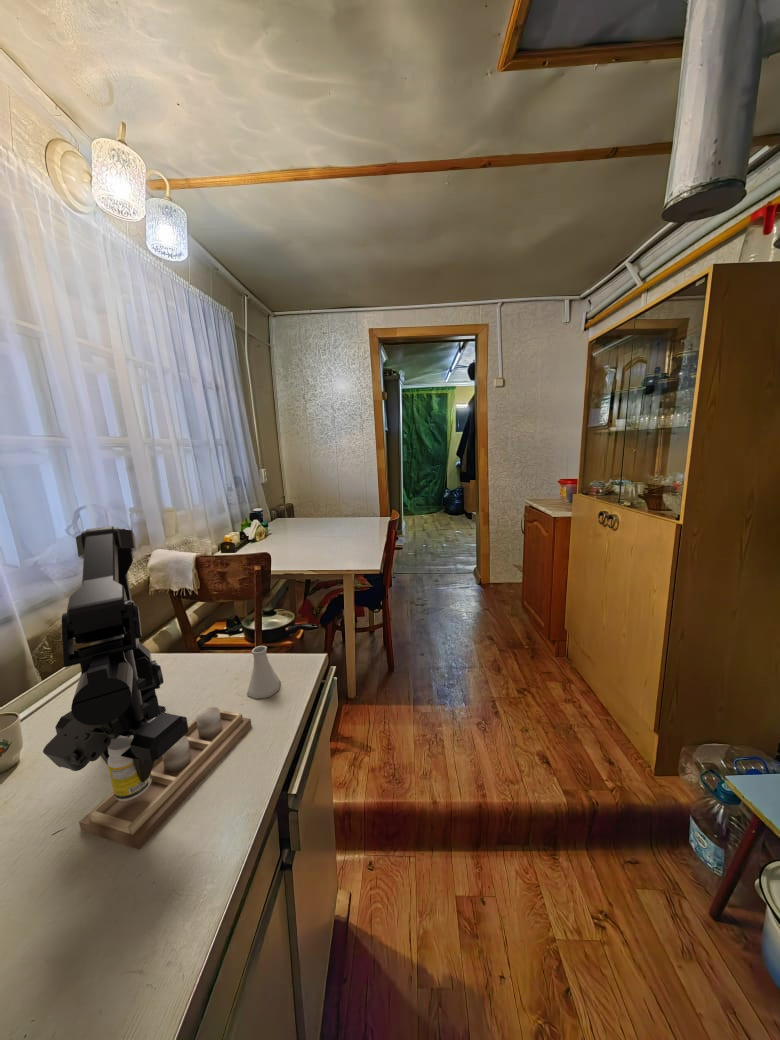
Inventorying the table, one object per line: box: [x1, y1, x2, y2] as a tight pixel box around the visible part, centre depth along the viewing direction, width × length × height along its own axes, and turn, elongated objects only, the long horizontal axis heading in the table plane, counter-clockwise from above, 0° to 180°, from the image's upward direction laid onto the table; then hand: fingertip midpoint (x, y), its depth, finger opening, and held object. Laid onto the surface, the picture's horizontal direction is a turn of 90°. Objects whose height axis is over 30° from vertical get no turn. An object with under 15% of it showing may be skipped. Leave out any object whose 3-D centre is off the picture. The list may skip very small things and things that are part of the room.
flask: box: [246, 645, 282, 699], centre depth 85 cm, size 7×7×10 cm
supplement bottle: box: [107, 735, 152, 801], centre depth 56 cm, size 5×5×8 cm
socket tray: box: [78, 706, 252, 851], centre depth 64 cm, size 11×24×5 cm, turn 164°
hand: (132, 776), depth 57 cm, fingers closed on supplement bottle, 5 cm apart
